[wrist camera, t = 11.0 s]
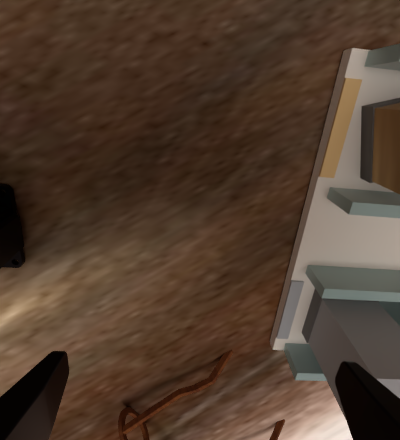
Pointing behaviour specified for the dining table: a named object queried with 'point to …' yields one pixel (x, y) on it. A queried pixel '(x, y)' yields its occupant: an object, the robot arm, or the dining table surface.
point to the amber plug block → (381, 144)
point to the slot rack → (343, 215)
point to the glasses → (173, 397)
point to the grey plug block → (354, 339)
